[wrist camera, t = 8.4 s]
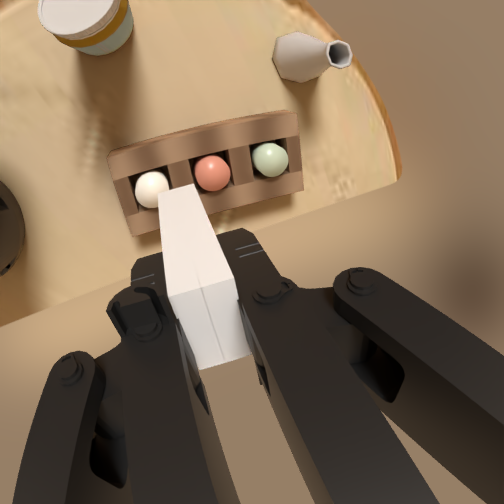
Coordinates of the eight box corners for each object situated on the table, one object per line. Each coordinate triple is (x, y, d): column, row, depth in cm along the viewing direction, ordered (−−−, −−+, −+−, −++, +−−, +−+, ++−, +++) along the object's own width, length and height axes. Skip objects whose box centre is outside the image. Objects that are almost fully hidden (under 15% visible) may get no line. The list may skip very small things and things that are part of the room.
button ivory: (141, 200, 37) (140, 212, 34) (132, 172, 34) (131, 181, 32) (170, 192, 37) (172, 202, 34) (163, 163, 35) (164, 171, 32)
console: (133, 222, 39) (132, 236, 36) (110, 151, 34) (106, 158, 30) (291, 180, 43) (303, 190, 40) (283, 110, 37) (296, 113, 34)
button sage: (250, 171, 39) (259, 180, 36) (246, 143, 37) (255, 149, 34) (279, 165, 40) (289, 173, 37) (275, 137, 38) (286, 142, 35)
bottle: (141, 41, 28) (133, 14, 16) (85, 66, 27) (44, 57, 15) (125, -7, 24) (111, -55, 12) (69, 18, 23) (24, -13, 11)
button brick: (196, 185, 38) (200, 195, 35) (189, 156, 36) (193, 163, 33) (226, 177, 38) (232, 186, 36) (220, 148, 36) (227, 155, 33)
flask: (324, 82, 37) (369, 87, 29) (274, 85, 35) (310, 88, 27) (320, 32, 33) (365, 25, 25) (268, 31, 31) (304, 19, 23)
